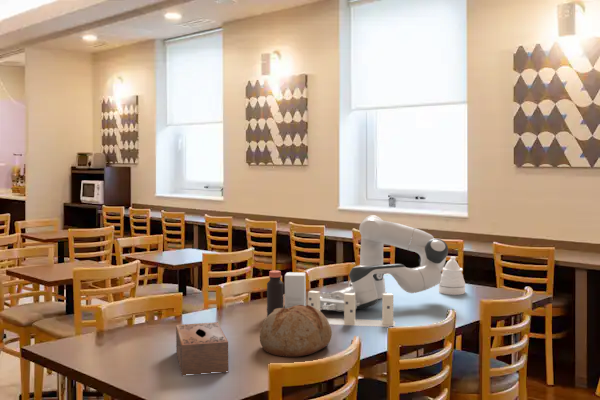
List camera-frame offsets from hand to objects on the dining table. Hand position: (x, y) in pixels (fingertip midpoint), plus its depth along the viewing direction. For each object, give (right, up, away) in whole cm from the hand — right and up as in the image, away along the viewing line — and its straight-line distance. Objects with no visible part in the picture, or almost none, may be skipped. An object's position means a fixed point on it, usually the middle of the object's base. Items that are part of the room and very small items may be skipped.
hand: (325, 307), depth 280 cm
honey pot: (+65, -1, +54) cm, 85 cm away
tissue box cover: (-43, -9, -59) cm, 73 cm away
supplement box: (-13, -3, +23) cm, 26 cm away
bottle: (-21, -5, 0) cm, 22 cm away
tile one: (+25, -5, -10) cm, 27 cm away
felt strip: (+10, -5, -8) cm, 14 cm away
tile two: (+9, -5, -10) cm, 14 cm away
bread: (-12, -8, -42) cm, 45 cm away
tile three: (-5, -4, -5) cm, 8 cm away
